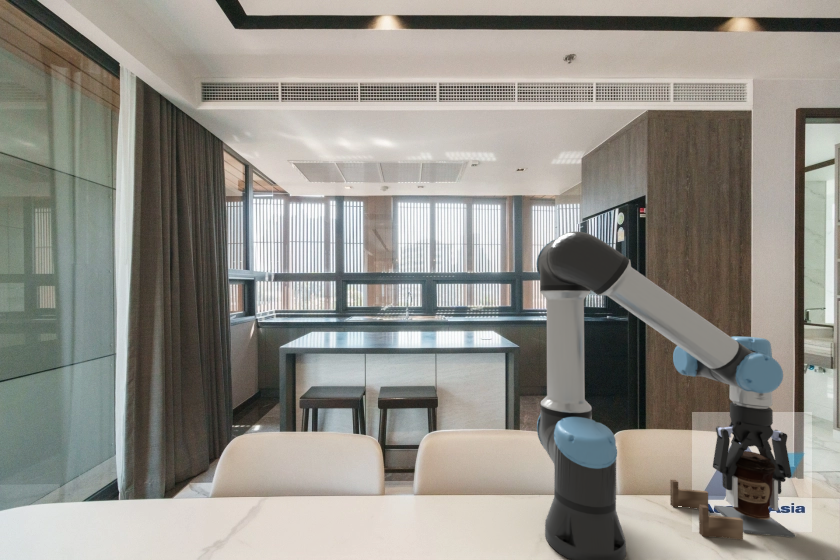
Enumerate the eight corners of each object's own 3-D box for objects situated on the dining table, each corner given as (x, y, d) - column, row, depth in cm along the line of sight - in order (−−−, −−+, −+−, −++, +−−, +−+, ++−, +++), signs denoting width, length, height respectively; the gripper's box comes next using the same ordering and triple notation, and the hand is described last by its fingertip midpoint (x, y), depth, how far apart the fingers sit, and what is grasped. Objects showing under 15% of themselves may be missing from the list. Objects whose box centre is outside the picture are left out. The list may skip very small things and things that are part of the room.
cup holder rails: (702, 536, 82) (702, 507, 82) (670, 504, 94) (670, 479, 95) (743, 540, 81) (743, 510, 81) (705, 507, 93) (705, 482, 94)
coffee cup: (778, 528, 82) (777, 466, 82) (728, 514, 87) (728, 456, 87) (773, 511, 89) (772, 454, 89) (727, 499, 94) (727, 445, 94)
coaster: (744, 532, 83) (744, 529, 83) (714, 507, 93) (714, 505, 93) (795, 537, 82) (795, 534, 82) (759, 511, 92) (759, 509, 92)
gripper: (713, 406, 86) (713, 510, 85) (814, 411, 84) (816, 519, 83) (693, 397, 94) (693, 493, 93) (785, 402, 92) (787, 501, 90)
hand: (751, 505), depth 88 cm, fingers closed on coffee cup, 8 cm apart
